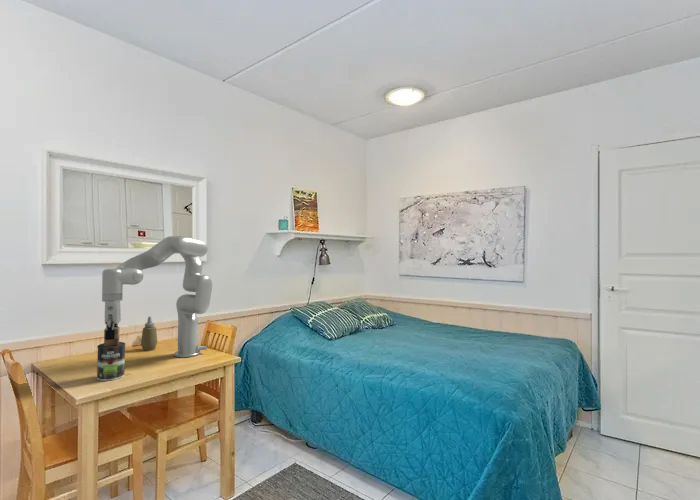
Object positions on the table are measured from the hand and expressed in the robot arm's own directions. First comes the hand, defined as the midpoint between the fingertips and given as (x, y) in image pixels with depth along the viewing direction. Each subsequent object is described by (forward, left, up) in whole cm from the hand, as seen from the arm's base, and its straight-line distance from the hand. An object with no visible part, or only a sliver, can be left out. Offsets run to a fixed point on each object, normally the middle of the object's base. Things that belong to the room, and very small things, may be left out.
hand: (111, 336), depth 166 cm
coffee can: (0, 0, -18) cm, 18 cm away
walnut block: (0, 0, -3) cm, 3 cm away
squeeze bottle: (-12, -44, -17) cm, 49 cm away
